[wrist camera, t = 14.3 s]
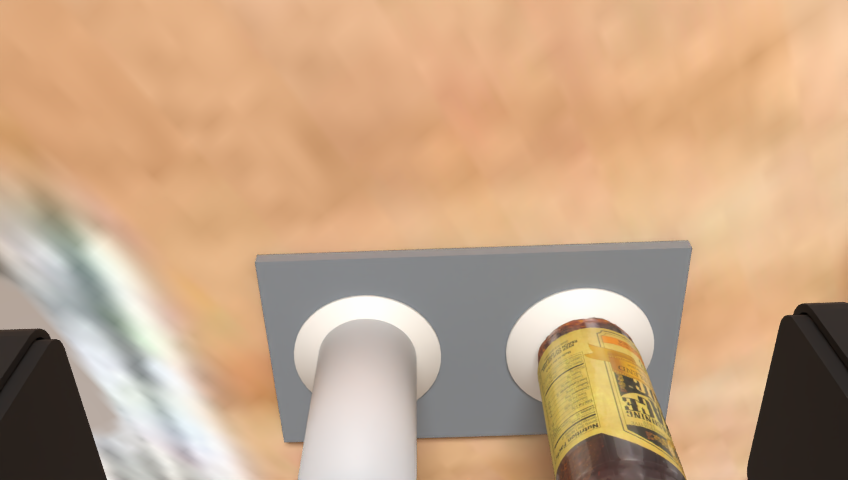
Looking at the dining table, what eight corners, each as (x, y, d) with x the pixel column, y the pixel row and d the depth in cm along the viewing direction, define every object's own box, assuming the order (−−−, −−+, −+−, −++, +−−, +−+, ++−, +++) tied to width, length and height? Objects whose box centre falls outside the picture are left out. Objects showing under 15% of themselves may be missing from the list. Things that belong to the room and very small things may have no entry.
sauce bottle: (649, 368, 50) (770, 679, 33) (556, 404, 52) (626, 720, 35) (611, 290, 48) (721, 588, 30) (513, 331, 49) (566, 637, 32)
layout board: (688, 240, 47) (774, 390, 36) (660, 421, 54) (725, 595, 43) (257, 254, 47) (207, 408, 36) (286, 433, 54) (252, 609, 43)
